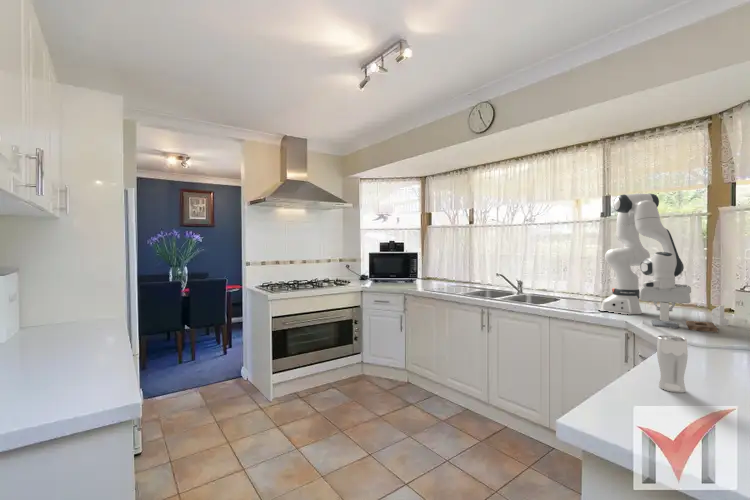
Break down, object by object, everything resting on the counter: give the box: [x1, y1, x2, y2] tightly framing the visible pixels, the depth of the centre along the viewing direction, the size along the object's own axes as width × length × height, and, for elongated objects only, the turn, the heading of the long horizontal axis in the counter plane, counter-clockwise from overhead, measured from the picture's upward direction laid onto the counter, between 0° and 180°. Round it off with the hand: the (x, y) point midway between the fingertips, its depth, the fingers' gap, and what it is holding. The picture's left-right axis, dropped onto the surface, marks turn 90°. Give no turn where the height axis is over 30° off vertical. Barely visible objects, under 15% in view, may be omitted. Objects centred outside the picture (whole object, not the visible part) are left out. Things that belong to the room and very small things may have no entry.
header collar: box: [685, 319, 718, 333], centre depth 176 cm, size 10×14×2 cm
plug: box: [659, 302, 670, 322], centre depth 184 cm, size 4×5×9 cm
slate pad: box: [651, 319, 679, 329], centre depth 185 cm, size 10×12×1 cm
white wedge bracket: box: [711, 305, 730, 326], centre depth 183 cm, size 4×10×9 cm, turn 168°
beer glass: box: [656, 334, 689, 394], centre depth 106 cm, size 7×7×15 cm
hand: (664, 310), depth 185 cm, fingers closed on plug, 3 cm apart
